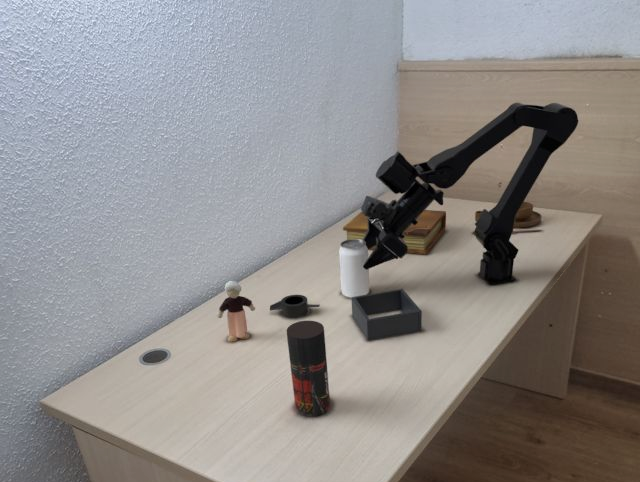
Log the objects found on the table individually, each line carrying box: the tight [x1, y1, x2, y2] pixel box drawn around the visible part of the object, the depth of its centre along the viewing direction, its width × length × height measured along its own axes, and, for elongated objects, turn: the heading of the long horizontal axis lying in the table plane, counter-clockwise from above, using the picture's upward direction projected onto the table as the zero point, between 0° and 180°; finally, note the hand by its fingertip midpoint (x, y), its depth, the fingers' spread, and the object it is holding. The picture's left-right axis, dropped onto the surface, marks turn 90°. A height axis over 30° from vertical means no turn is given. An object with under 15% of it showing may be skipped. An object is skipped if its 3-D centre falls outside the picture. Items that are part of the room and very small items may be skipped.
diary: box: [342, 209, 447, 255], centre depth 168 cm, size 23×19×6 cm
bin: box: [350, 288, 423, 341], centre depth 127 cm, size 11×11×4 cm
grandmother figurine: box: [217, 280, 256, 343], centre depth 124 cm, size 8×4×13 cm, turn 117°
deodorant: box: [286, 320, 331, 418], centre depth 101 cm, size 6×6×15 cm
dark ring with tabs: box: [269, 294, 321, 319], centre depth 135 cm, size 8×10×3 cm
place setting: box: [472, 201, 542, 235], centre depth 172 cm, size 18×20×6 cm
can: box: [338, 239, 370, 299], centre depth 138 cm, size 6×6×12 cm
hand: (361, 260), depth 137 cm, fingers open, 9 cm apart
